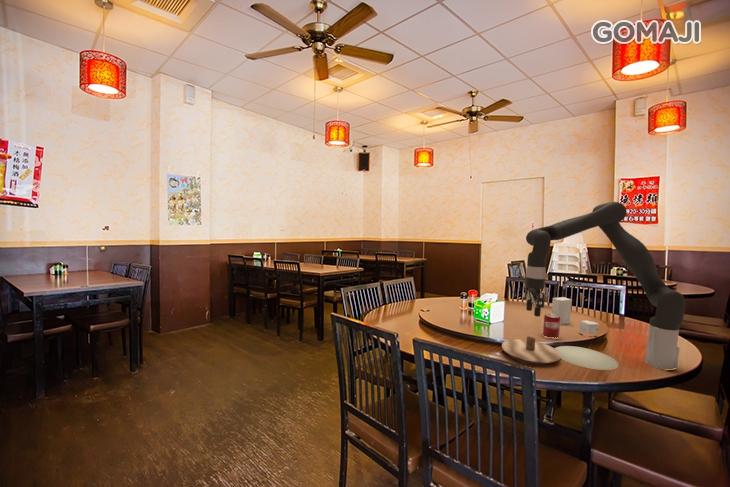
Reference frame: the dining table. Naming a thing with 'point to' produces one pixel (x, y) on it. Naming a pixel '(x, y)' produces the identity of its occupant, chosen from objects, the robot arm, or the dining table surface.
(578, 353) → the disc
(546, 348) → the lid
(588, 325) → the skincare box
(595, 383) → the dining table surface
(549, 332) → the soda can
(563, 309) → the skincare box
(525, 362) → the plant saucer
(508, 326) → the dining table surface
